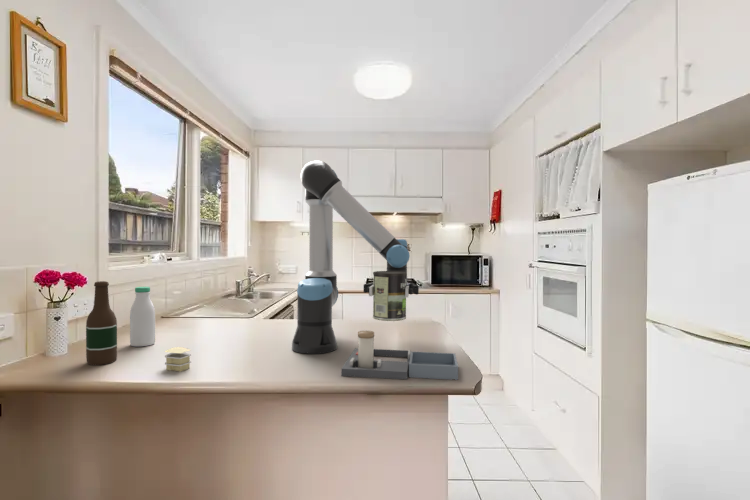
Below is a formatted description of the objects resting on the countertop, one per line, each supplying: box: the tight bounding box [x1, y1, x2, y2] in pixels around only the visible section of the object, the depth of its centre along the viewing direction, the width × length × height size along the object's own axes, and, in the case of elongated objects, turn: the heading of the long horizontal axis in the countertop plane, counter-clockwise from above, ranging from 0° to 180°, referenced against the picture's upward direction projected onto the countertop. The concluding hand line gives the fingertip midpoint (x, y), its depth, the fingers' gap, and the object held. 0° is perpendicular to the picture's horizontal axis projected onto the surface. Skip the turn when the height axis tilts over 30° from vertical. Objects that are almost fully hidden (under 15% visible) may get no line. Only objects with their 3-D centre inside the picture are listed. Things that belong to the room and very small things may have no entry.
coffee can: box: [372, 270, 408, 322], centre depth 130 cm, size 10×10×14 cm
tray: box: [408, 350, 459, 381], centre depth 122 cm, size 13×13×4 cm
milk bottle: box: [129, 286, 156, 348], centre depth 148 cm, size 8×8×20 cm
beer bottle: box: [85, 280, 118, 366], centre depth 126 cm, size 8×8×24 cm
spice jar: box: [357, 330, 375, 369], centre depth 120 cm, size 5×5×11 cm
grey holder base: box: [340, 347, 411, 380], centre depth 126 cm, size 18×22×3 cm
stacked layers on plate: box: [164, 346, 192, 372], centre depth 122 cm, size 10×9×6 cm
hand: (388, 292), depth 125 cm, fingers closed on coffee can, 10 cm apart
